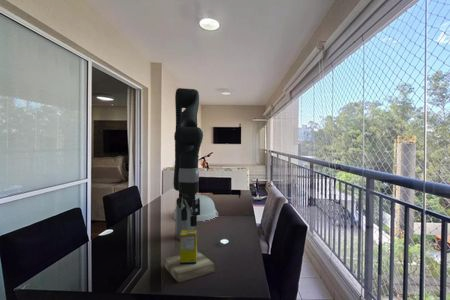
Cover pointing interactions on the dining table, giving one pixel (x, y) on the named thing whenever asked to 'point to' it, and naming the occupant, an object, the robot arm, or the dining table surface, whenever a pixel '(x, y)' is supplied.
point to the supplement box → (188, 247)
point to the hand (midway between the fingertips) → (188, 223)
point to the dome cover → (205, 208)
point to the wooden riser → (188, 267)
